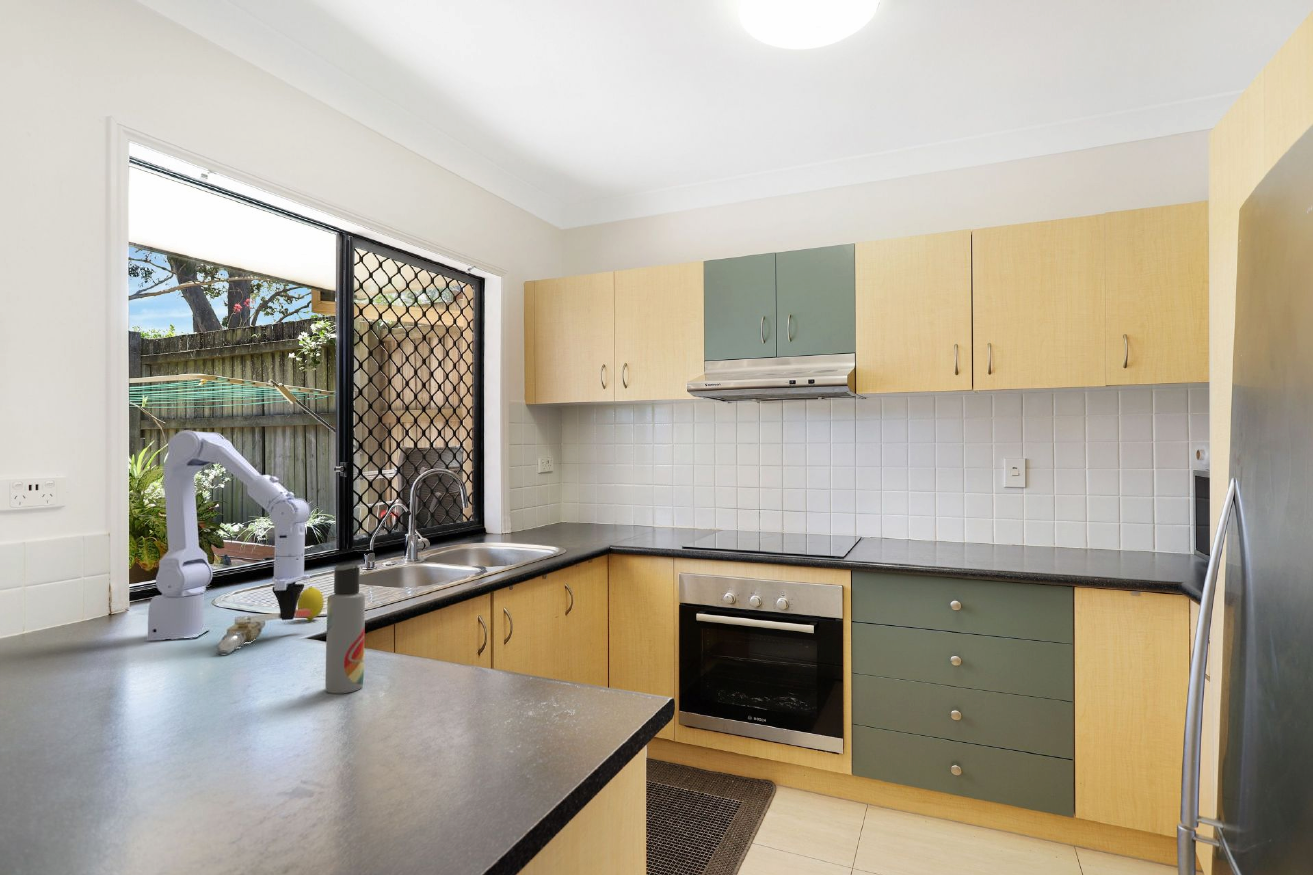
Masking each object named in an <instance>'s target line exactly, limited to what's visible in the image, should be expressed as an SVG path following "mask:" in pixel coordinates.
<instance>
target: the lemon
mask: <svg viewBox="0 0 1313 875" xmlns="http://www.w3.org/2000/svg"><path fill="white" fill-rule="evenodd" d="M323 608H324V597H323V594H322V592H321V591H320V590H319V589H318V588H315V587H313V586H309V587H308V588H307V589H305V590H304V589H303V590H302V592H301V594H300V596H299V599H298V602H297V610H299V609H309V610H310V616H306V617H304V618H305V619H306V620H308V621H313V620H314V618H316V617H318V616H319V615H320V614H321V613H322V611H323Z"/></svg>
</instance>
